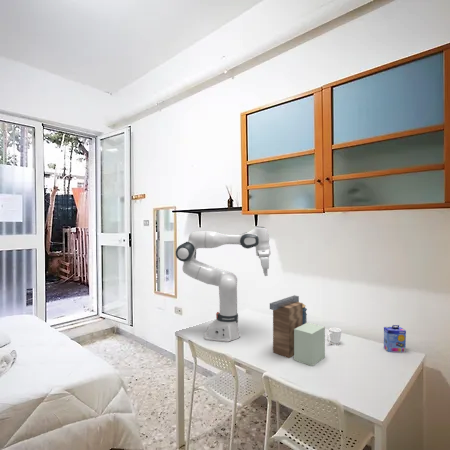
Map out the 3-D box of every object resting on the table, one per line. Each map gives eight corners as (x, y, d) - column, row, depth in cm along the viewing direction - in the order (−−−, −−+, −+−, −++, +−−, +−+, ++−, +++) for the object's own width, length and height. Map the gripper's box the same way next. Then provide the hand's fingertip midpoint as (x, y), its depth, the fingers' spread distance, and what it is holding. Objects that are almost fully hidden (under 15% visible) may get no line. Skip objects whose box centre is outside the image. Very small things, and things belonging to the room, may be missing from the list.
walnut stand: (289, 358, 156) (288, 308, 156) (273, 352, 163) (273, 304, 163) (302, 349, 166) (302, 303, 166) (287, 344, 173) (287, 300, 173)
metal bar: (274, 310, 153) (274, 304, 153) (269, 309, 155) (269, 303, 155) (298, 301, 170) (298, 296, 170) (294, 300, 172) (294, 295, 172)
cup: (344, 344, 174) (344, 330, 174) (332, 347, 169) (332, 333, 169) (334, 340, 181) (334, 326, 180) (322, 343, 175) (322, 329, 175)
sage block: (312, 366, 147) (312, 333, 147) (294, 360, 154) (294, 328, 154) (324, 357, 157) (324, 326, 157) (307, 351, 164) (307, 322, 164)
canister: (306, 330, 198) (306, 303, 198) (286, 328, 202) (286, 301, 202) (307, 323, 210) (306, 298, 210) (288, 322, 214) (288, 297, 214)
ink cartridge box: (387, 352, 163) (387, 325, 163) (383, 348, 169) (382, 322, 169) (406, 352, 163) (406, 326, 163) (401, 348, 168) (401, 322, 168)
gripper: (257, 251, 196) (259, 272, 196) (258, 254, 176) (261, 277, 176) (267, 250, 196) (269, 271, 196) (269, 253, 175) (272, 276, 175)
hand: (265, 274), depth 185 cm, fingers open, 8 cm apart
